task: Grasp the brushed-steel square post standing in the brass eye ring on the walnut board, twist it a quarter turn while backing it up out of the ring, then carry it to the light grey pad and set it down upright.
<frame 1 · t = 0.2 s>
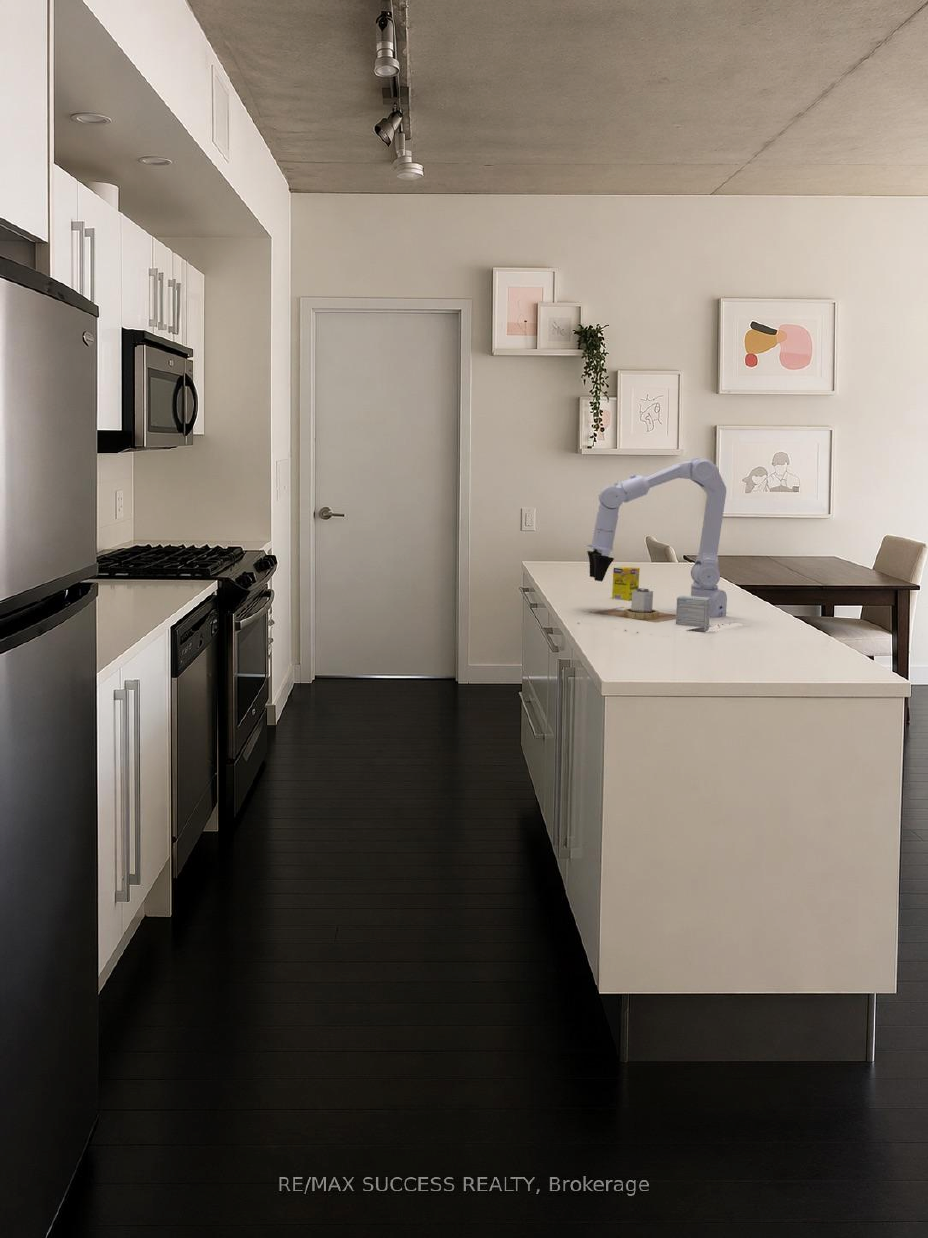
hand: (595, 579, 313), 11 cm above the counter, tool pointing down, fingers open, 7 cm apart
medicine box: (692, 631, 296), on the counter
walnut board: (638, 619, 311), on the counter
brass eye: (641, 613, 306), on the walnut board, point 2 cm above the counter
supplement box: (624, 604, 342), on the counter
grey pad: (632, 610, 317), resting on walnut board
steel post: (642, 602, 306), in the brass eye, point 5 cm above the counter, touching walnut board
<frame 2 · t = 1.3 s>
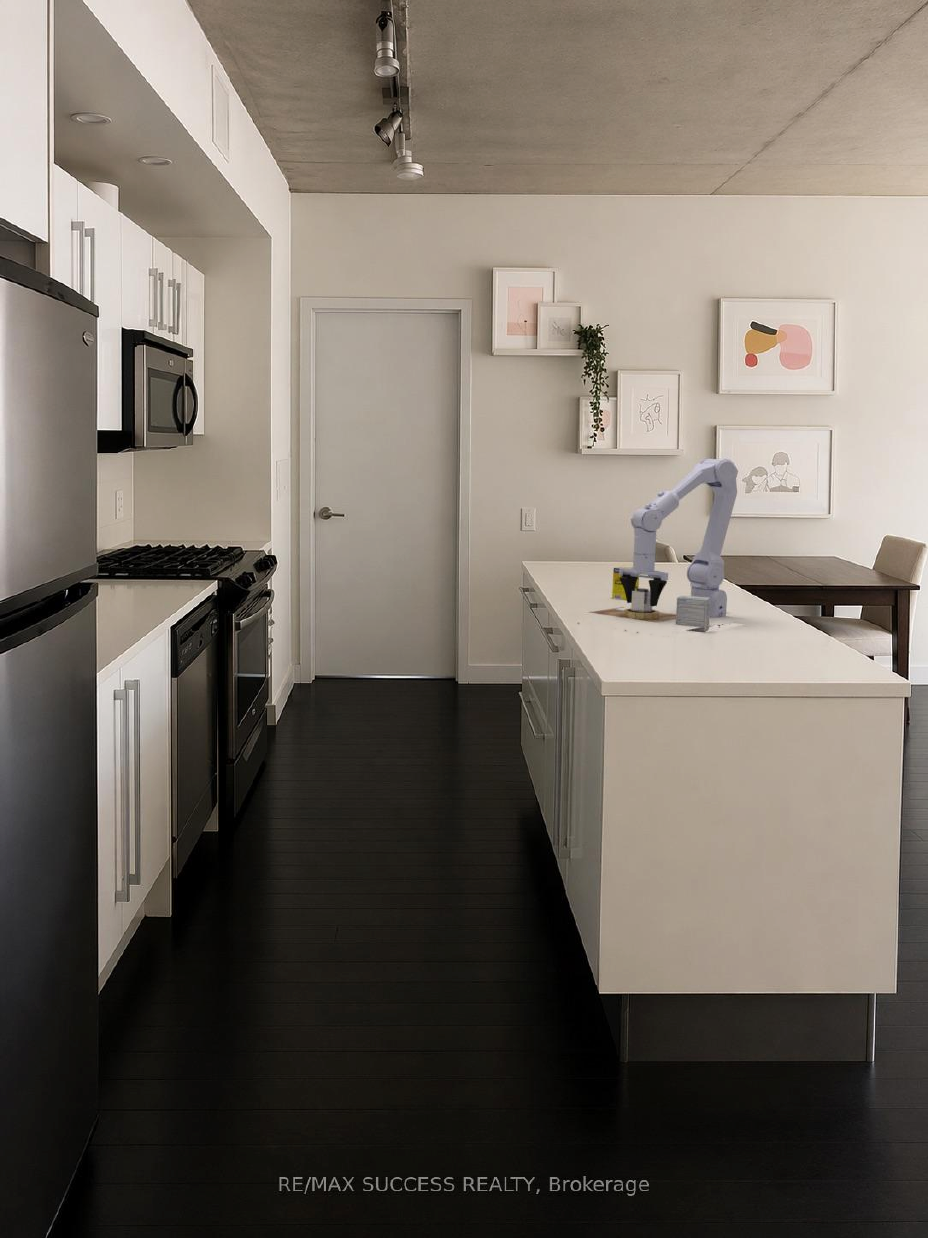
hand: (641, 604, 306), 5 cm above the counter, tool pointing down, fingers open, 7 cm apart
nothing on the counter moved.
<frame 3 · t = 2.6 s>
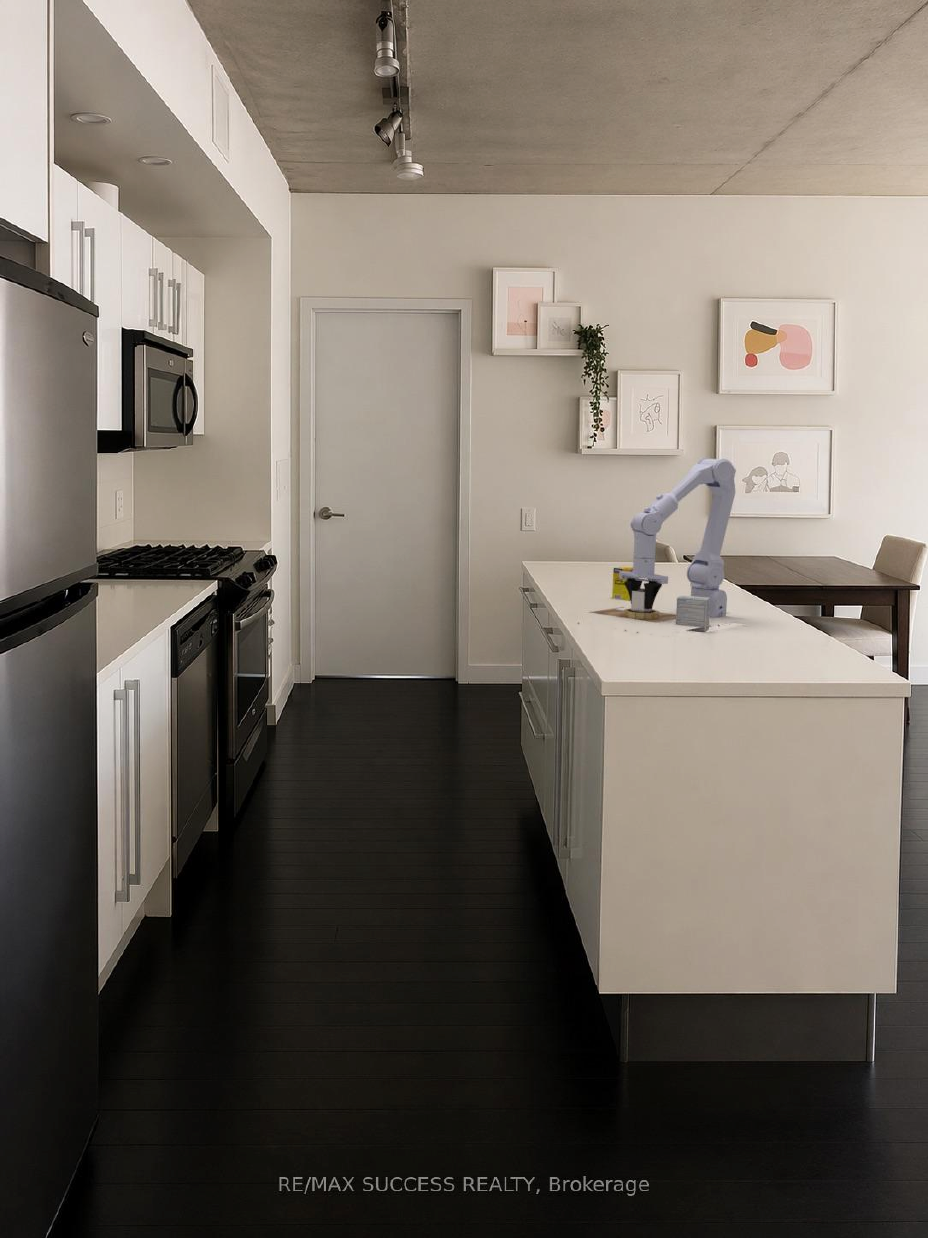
hand: (641, 607, 306), 4 cm above the counter, tool pointing down, fingers closed on steel post, 4 cm apart
steel post: (642, 602, 306), in the brass eye, point 5 cm above the counter, touching gripper, walnut board
everything else where it was.
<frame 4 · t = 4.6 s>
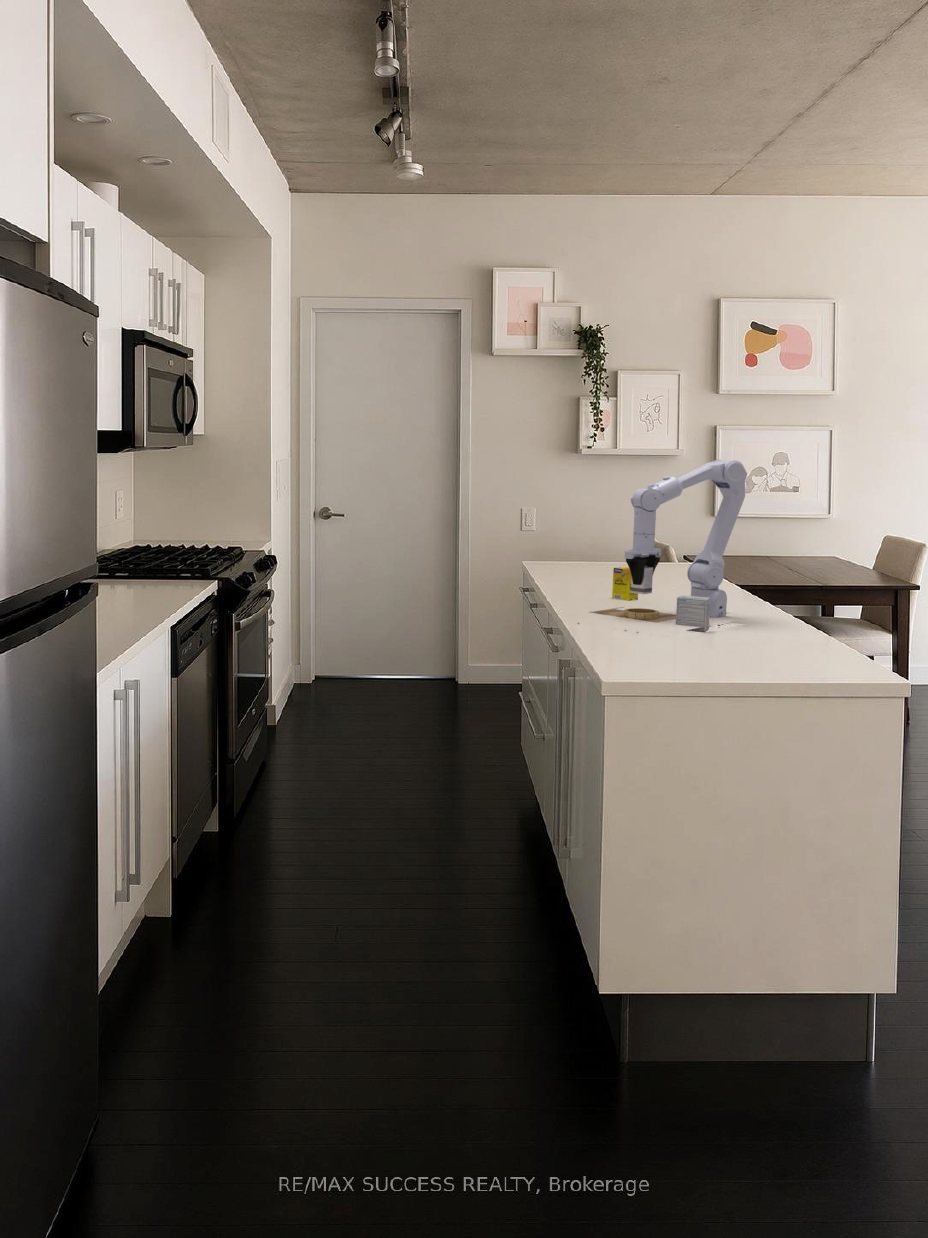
hand: (641, 583, 307), 10 cm above the counter, tool pointing down, fingers closed on steel post, 4 cm apart
steel post: (642, 579, 306), point 12 cm above the counter, touching gripper
everything else where it was.
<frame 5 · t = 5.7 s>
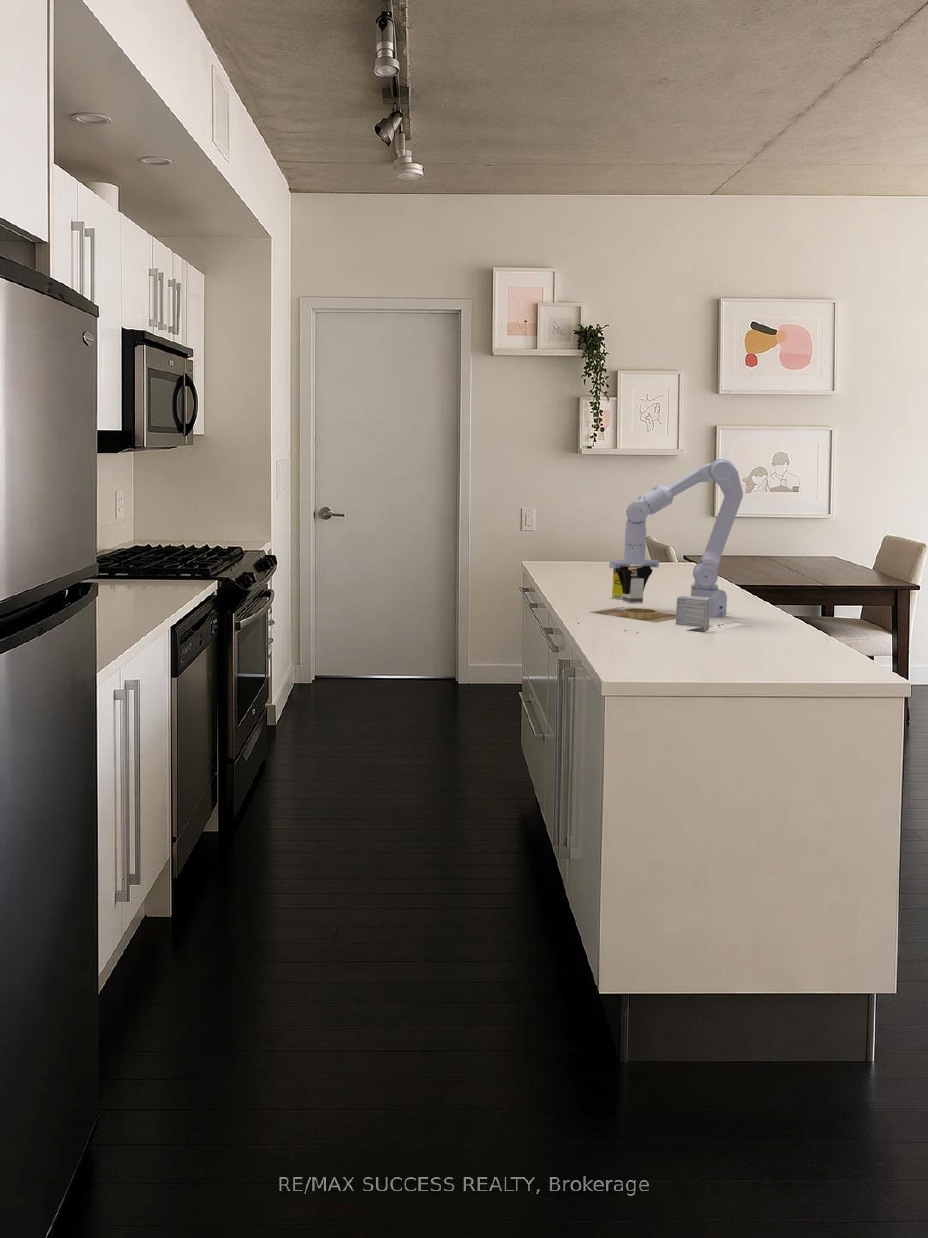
hand: (632, 593, 316), 6 cm above the counter, tool pointing down, fingers closed on steel post, 4 cm apart
steel post: (633, 589, 316), point 8 cm above the counter, touching gripper
everything else where it was.
when the fingers open (6 cm above the counter, at t = 6.6 s): steel post drops 1 cm, resting on grey pad.
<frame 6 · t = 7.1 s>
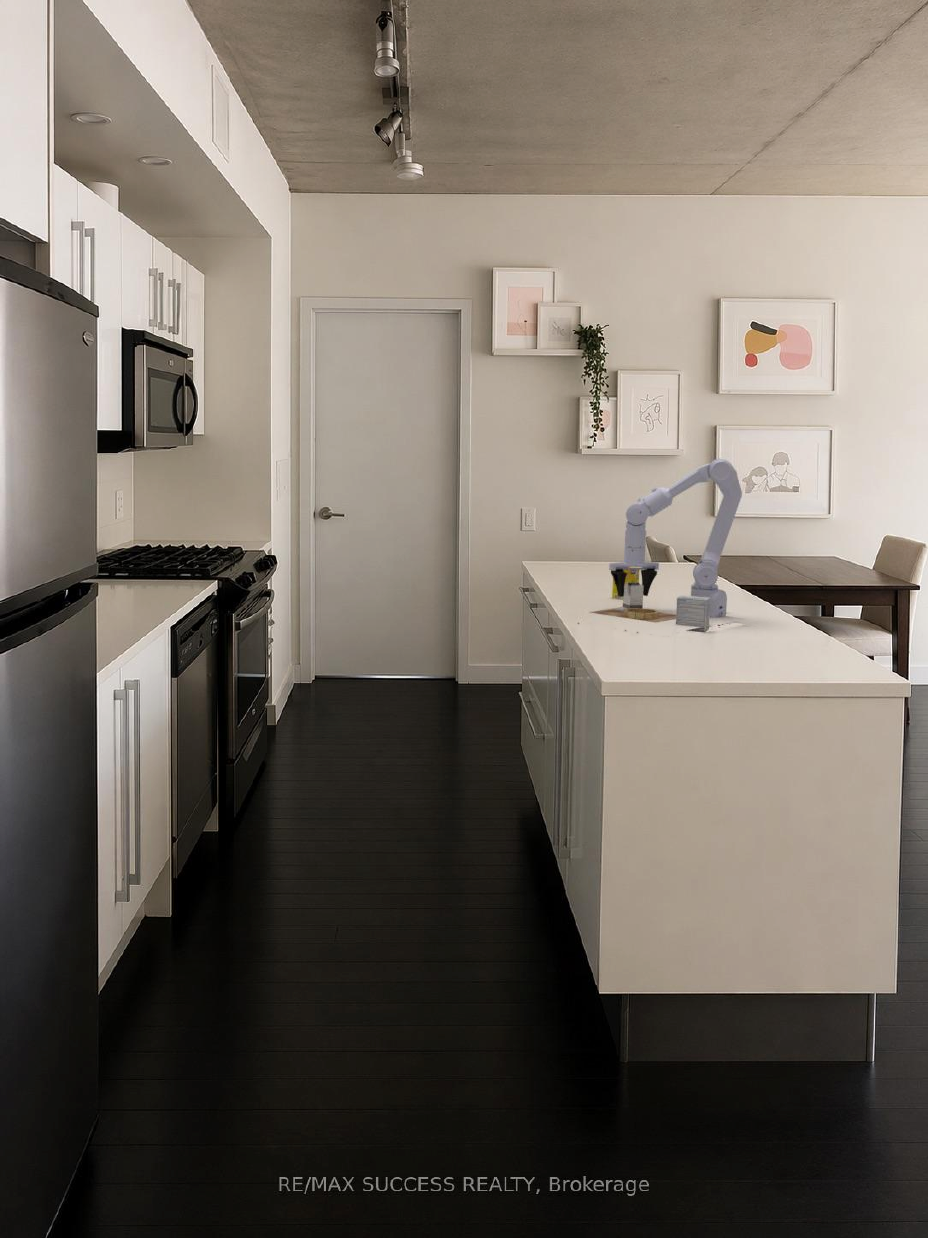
hand: (632, 595, 316), 6 cm above the counter, tool pointing down, fingers open, 7 cm apart
steel post: (633, 596, 316), on the grey pad, point 6 cm above the counter
everything else where it was.
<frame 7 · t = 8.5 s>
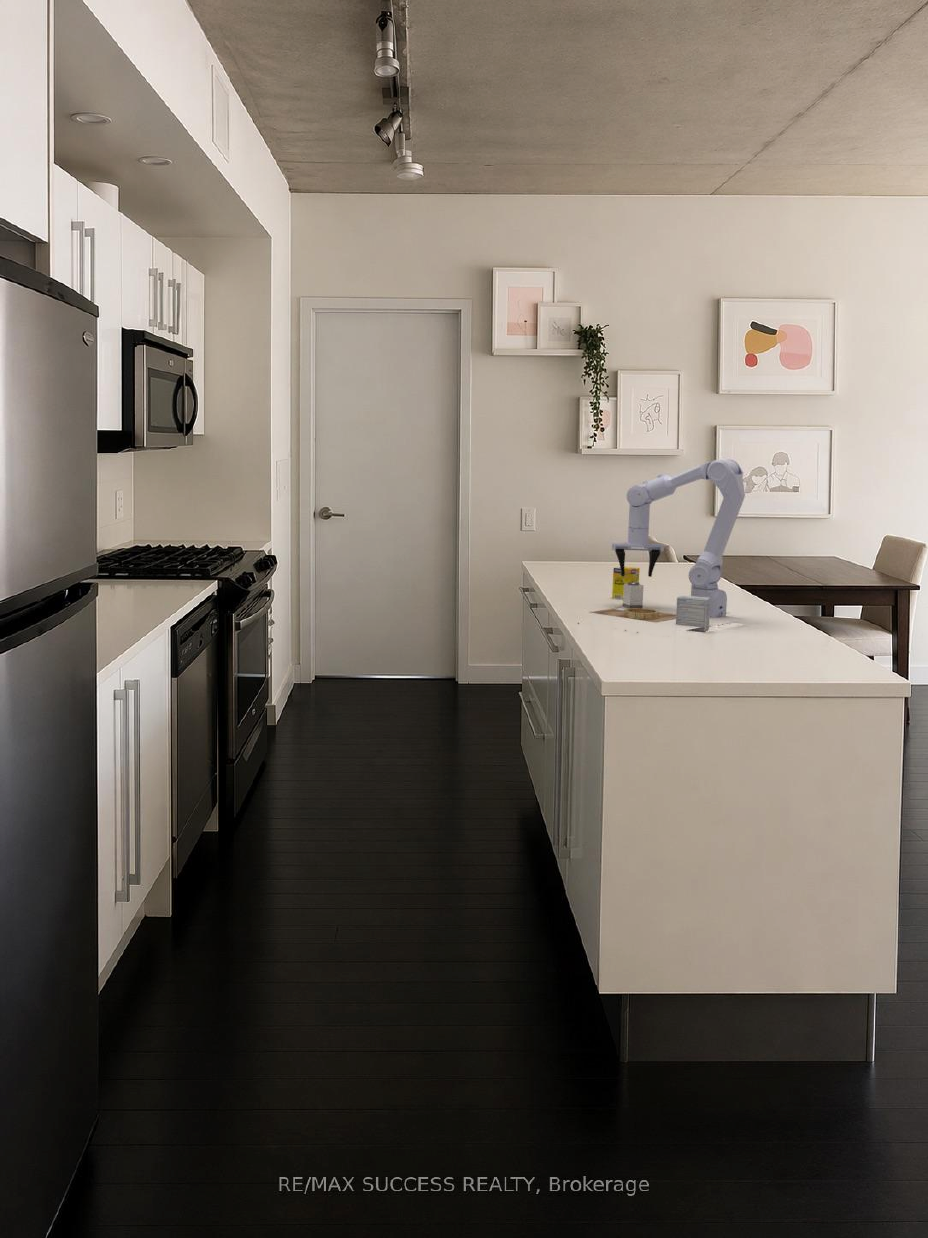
hand: (636, 575, 323), 10 cm above the counter, tool pointing down, fingers open, 7 cm apart
nothing on the counter moved.
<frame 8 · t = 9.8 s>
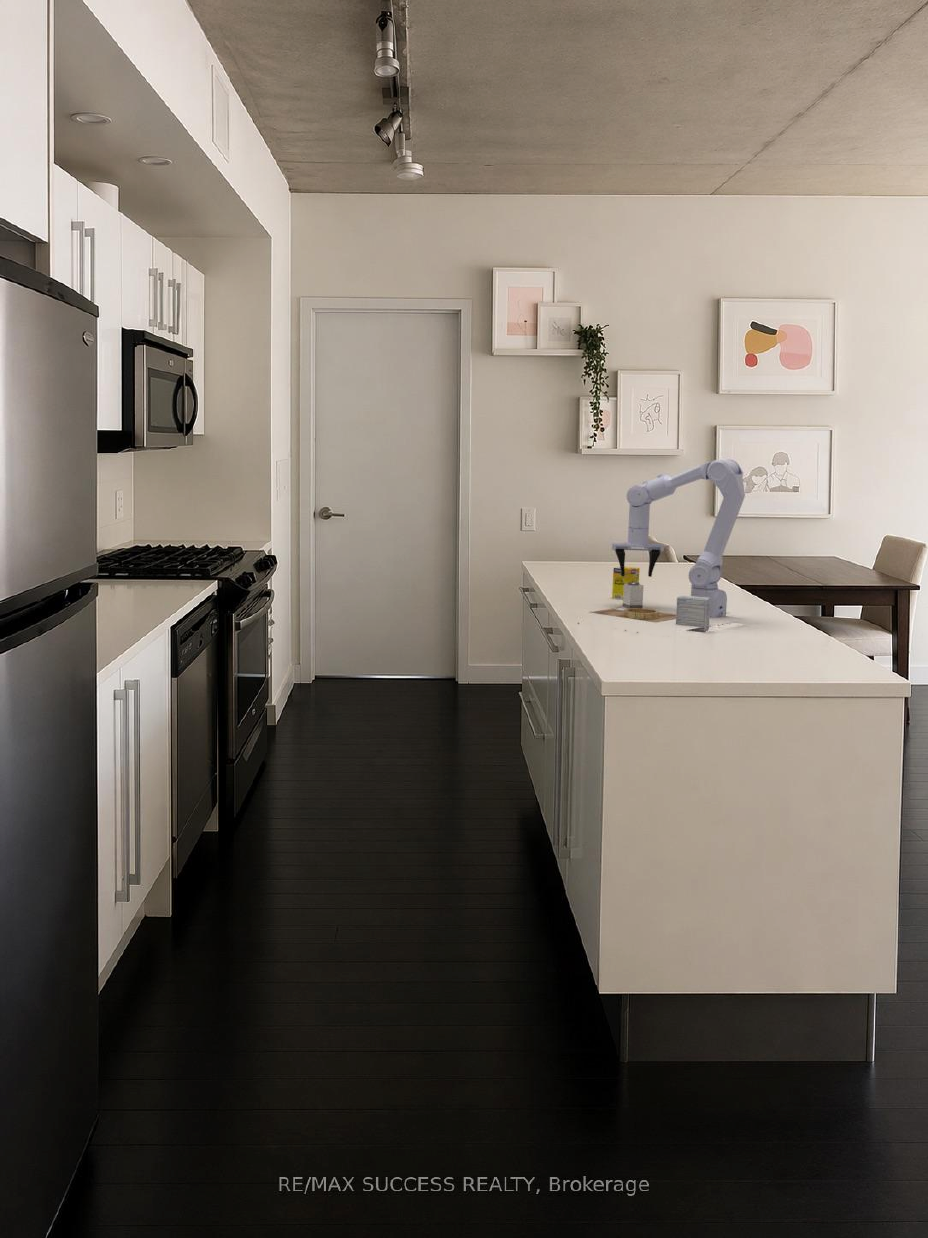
hand: (636, 575, 323), 10 cm above the counter, tool pointing down, fingers open, 7 cm apart
nothing on the counter moved.
at the end: steel post 0.1 cm from the target spot, point 5.6 cm above the counter; steel post tilted 0°; the gripper is holding nothing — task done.
